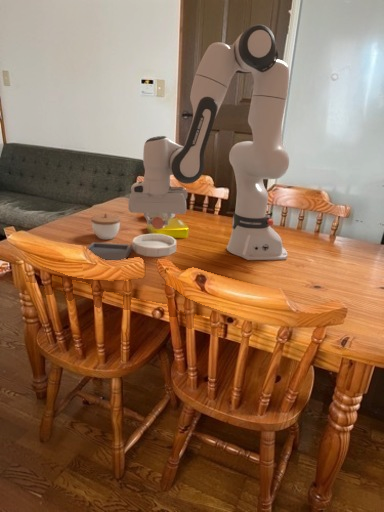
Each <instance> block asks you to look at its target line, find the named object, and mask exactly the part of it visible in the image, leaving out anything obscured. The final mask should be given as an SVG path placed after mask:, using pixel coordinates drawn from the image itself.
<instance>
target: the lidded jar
mask: <svg viewBox="0 0 384 512" xmlns="http://www.w3.org/2000/svg"><path fill="white" fill-rule="evenodd" d="M90 219H91V226H92V230H93V233H94V234H95V235H96V236H97V238H98V239H100V240H107V241H108V240H112V239H114V238H115V237H116V235H118V233H119V231H120V226H121V225H120V223H121V217H120V216H119V215H115V214H112V213H111V214H110V213H109V214H108V213H102V214H101V213H100V214H95V215H93V216H92V217H91V218H90Z"/></svg>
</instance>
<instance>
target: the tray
mask: <svg viewBox="0 0 384 512" xmlns="http://www.w3.org/2000/svg"><path fill="white" fill-rule="evenodd" d="M87 248H88V249H89V250H91V251H92V252H93V253H94V254H95V255H97V256H99V257H100V258H102V259H105V260H121V259H124V258H127V257H128V258H129V256H130V254H131V252H132V250H133V248H132V244H123V243H108V242H94V241H93V242H91V244H90V245H89V246H88V247H87ZM128 258H127V259H128Z"/></svg>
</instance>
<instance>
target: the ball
mask: <svg viewBox="0 0 384 512" xmlns="http://www.w3.org/2000/svg"><path fill="white" fill-rule="evenodd" d="M152 226H153V227H154V228H155V229H161V228H163V226H164V220H163V218H161V217H155V218H153V220H152Z"/></svg>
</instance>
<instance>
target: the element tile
mask: <svg viewBox="0 0 384 512" xmlns="http://www.w3.org/2000/svg"><path fill="white" fill-rule="evenodd" d="M152 220H153V219H152ZM163 220H165V219H163ZM146 230H147V232H148V234H162V235H167V236H171V237H173V238H174V239H175V240H177V239H187V238H189V232H190V227H189V226H188V225H187V224H186V223H185V222H184V221H183V220H182V219H181V218H178V217H175V218H171V219H169V225H164V226H163V228H161V229H155V228H154V227H153V226H152V225H147V224H146Z"/></svg>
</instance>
